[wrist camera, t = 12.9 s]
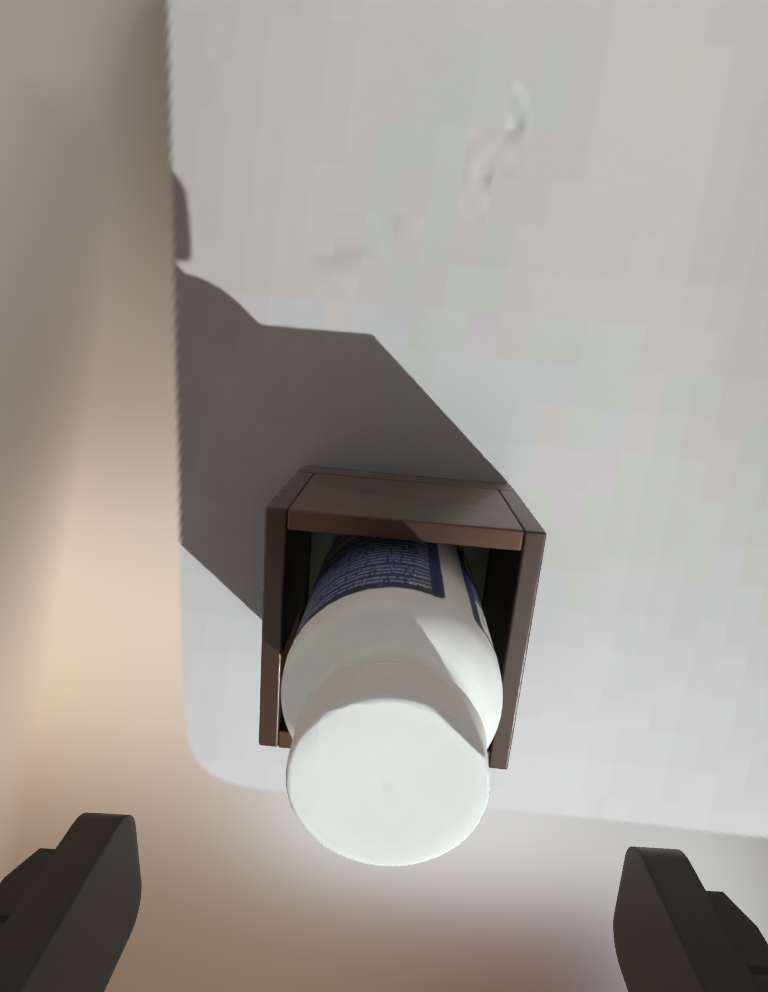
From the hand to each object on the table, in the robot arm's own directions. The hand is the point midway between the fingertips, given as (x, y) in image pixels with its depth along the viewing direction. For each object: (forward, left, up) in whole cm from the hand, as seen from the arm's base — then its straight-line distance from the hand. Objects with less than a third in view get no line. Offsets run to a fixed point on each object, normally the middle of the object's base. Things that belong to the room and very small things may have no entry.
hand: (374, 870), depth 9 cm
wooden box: (0, 0, -13) cm, 13 cm away
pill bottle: (0, 0, -12) cm, 12 cm away
